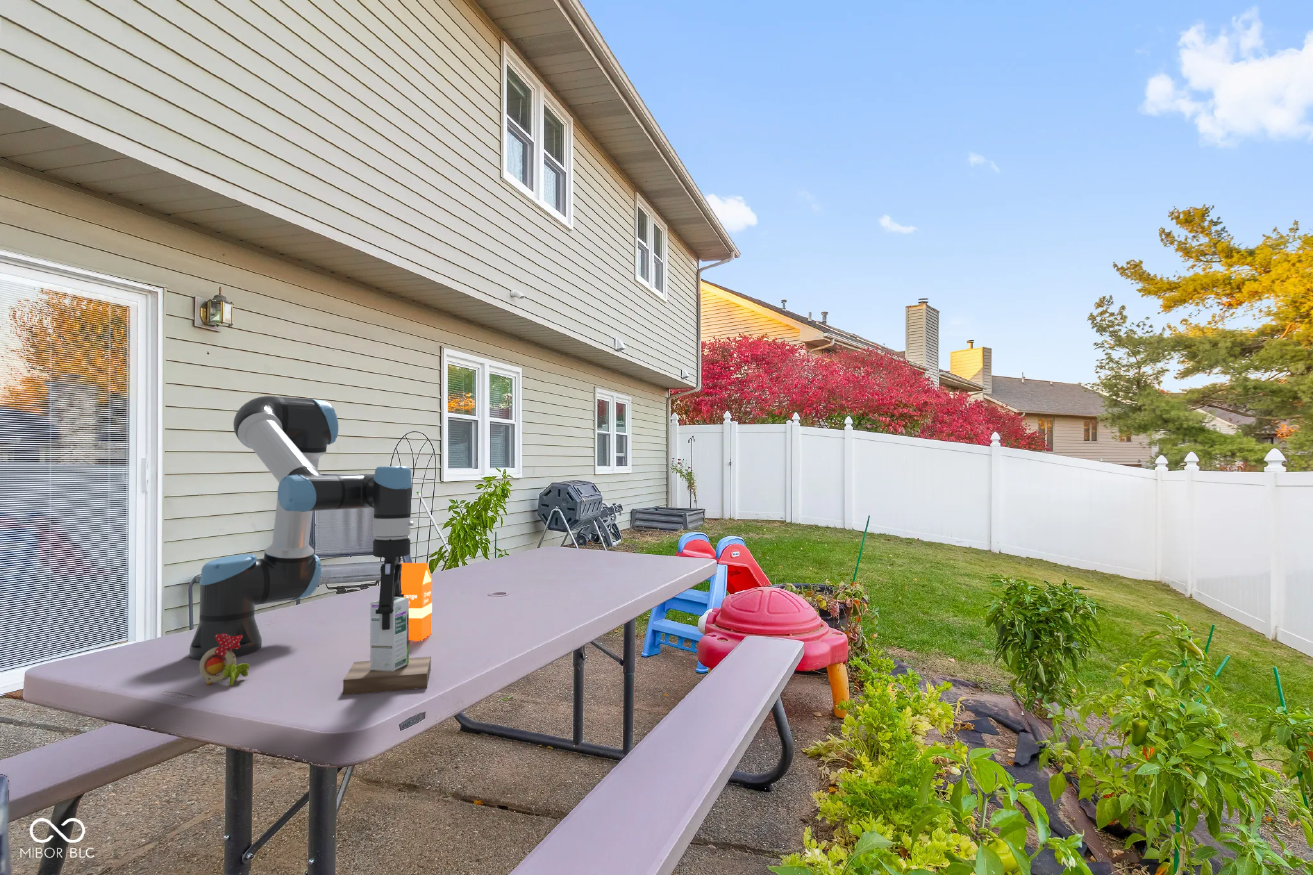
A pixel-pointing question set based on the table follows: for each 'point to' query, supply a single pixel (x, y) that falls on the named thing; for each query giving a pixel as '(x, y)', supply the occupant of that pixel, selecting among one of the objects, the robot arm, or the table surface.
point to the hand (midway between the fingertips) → (389, 637)
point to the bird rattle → (223, 661)
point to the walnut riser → (387, 677)
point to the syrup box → (399, 651)
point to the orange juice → (418, 598)
